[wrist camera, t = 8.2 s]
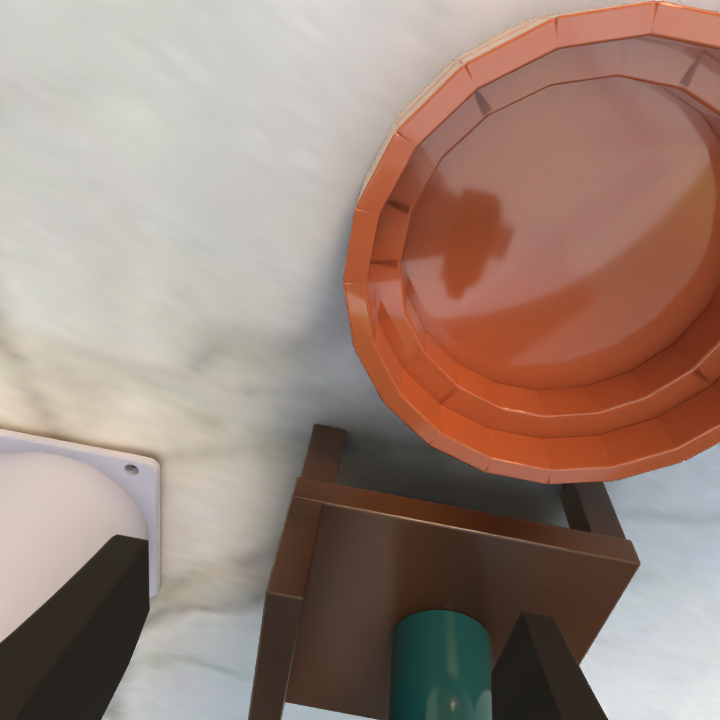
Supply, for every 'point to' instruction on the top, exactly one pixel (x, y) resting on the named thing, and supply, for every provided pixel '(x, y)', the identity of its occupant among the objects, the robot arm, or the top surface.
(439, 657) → the salt shaker
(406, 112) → the bowl
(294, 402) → the top surface
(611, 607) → the chair
